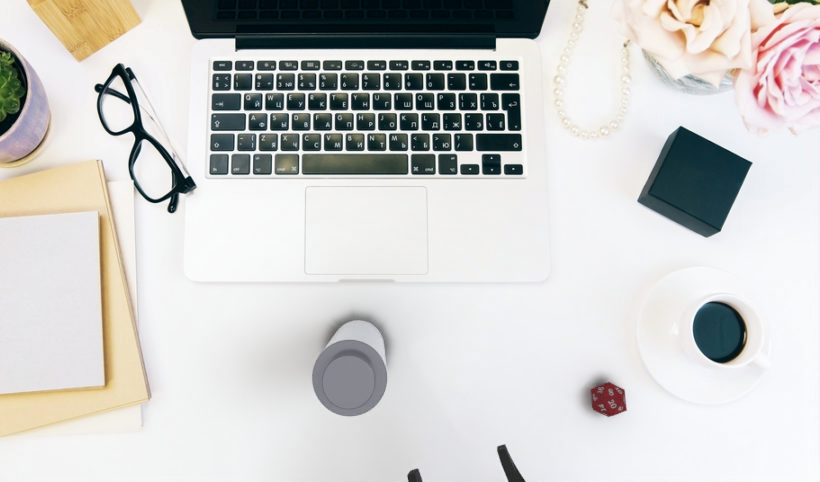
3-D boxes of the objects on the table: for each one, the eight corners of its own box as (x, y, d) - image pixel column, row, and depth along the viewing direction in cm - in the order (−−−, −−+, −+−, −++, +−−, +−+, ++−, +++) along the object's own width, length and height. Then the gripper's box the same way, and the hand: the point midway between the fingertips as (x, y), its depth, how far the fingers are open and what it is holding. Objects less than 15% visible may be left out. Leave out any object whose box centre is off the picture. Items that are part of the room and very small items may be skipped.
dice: (577, 391, 71) (589, 398, 67) (609, 372, 71) (622, 378, 67) (594, 419, 71) (607, 428, 67) (626, 400, 71) (641, 407, 67)
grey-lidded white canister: (393, 359, 72) (401, 401, 48) (345, 382, 72) (329, 436, 48) (370, 311, 72) (366, 329, 48) (323, 334, 72) (296, 363, 48)
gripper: (615, 646, 41) (545, 444, 44) (416, 690, 43) (364, 494, 46) (599, 602, 47) (539, 430, 51) (428, 641, 49) (381, 474, 53)
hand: (456, 459), depth 49 cm, fingers open, 7 cm apart
